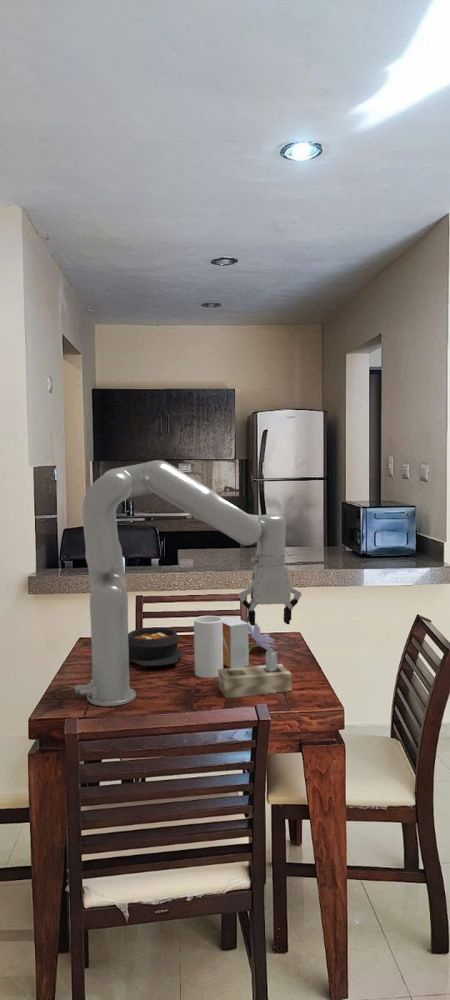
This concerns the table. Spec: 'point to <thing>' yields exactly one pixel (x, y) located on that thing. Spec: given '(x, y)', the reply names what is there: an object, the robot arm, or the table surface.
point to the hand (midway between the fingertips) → (269, 623)
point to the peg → (271, 661)
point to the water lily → (260, 638)
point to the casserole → (153, 646)
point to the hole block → (253, 681)
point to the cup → (208, 646)
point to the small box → (235, 643)
